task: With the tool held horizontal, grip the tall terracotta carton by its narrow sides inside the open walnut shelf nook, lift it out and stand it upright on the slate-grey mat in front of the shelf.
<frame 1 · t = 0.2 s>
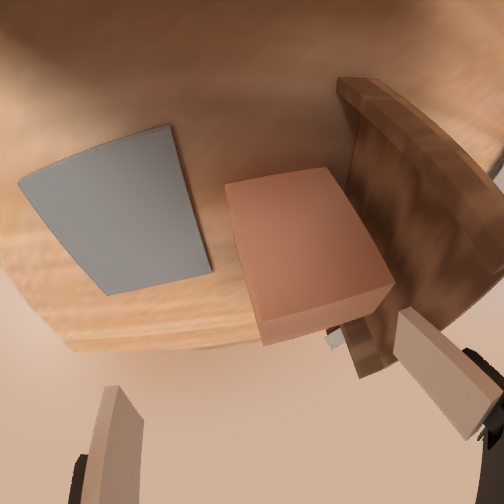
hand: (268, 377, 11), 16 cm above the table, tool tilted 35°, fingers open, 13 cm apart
shelf nook: (379, 251, 21), on the table
food container: (347, 275, 43), on the table
carton: (277, 195, 25), on the table
slate mat: (125, 230, 24), on the table
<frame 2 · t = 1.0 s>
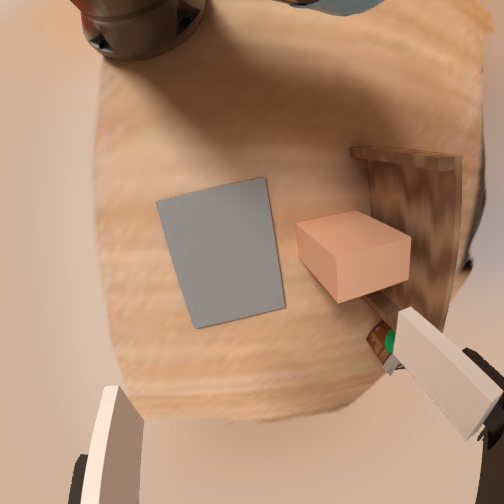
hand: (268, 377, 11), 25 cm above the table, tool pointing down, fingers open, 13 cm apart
shelf nook: (400, 243, 31), on the table
food container: (390, 323, 46), on the table
carton: (328, 233, 37), on the table
slate mat: (225, 258, 36), on the table
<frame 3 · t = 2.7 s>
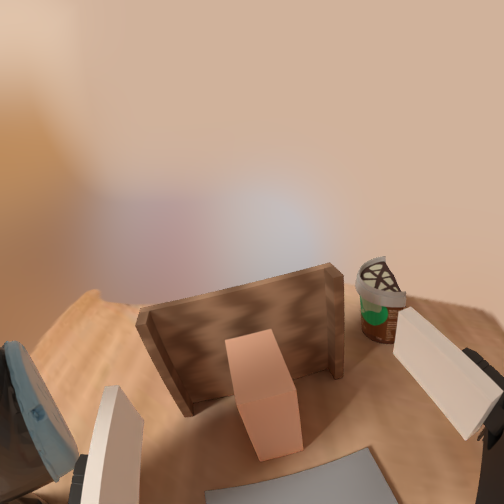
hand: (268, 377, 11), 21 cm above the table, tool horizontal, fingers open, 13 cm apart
shelf nook: (251, 350, 32), on the table
food container: (372, 328, 42), on the table
carton: (272, 427, 29), on the table
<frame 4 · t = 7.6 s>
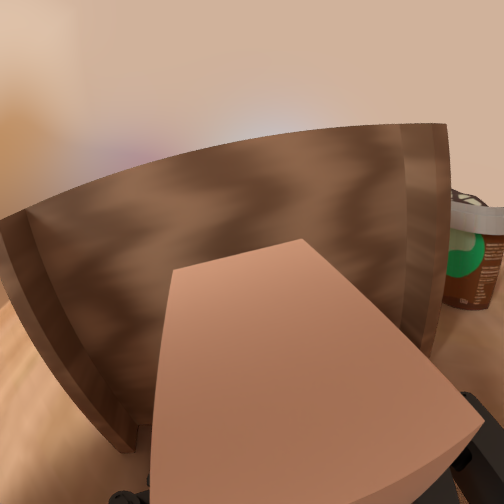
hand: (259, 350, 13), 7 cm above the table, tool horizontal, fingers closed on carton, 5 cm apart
shelf nook: (250, 316, 14), on the table
food container: (444, 290, 24), on the table
carton: (299, 488, 11), on the table, touching gripper
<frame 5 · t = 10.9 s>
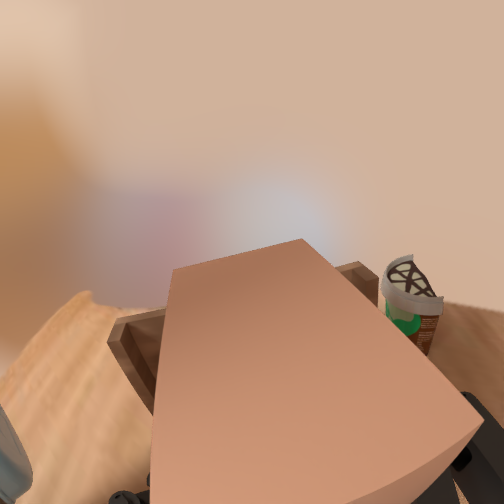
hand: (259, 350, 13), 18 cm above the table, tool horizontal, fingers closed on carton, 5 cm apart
shelf nook: (258, 373, 25), on the table
food container: (398, 338, 35), on the table
carton: (299, 488, 11), point 12 cm above the table, touching gripper
when the fingers open (8 cm above the table, at t = 14.6 s): carton drops 1 cm, resting on slate mat.
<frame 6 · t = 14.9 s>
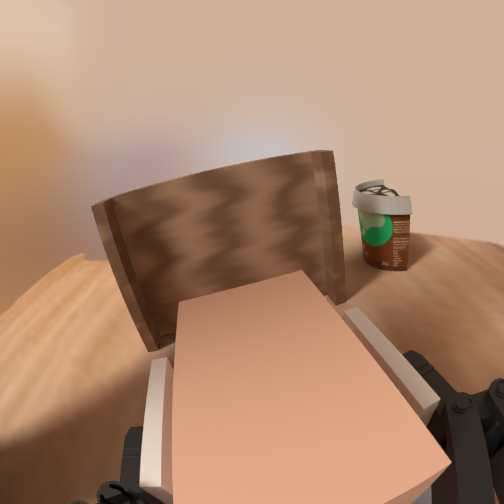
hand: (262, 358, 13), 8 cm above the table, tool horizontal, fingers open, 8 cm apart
shelf nook: (229, 253, 27), on the table
food container: (376, 259, 38), on the table
carton: (299, 495, 11), point 1 cm above the table, touching slate mat
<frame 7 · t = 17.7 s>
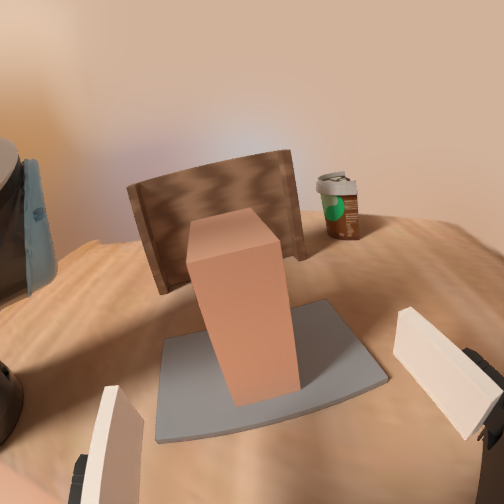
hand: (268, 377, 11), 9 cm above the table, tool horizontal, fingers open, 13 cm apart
shelf nook: (219, 221, 39), on the table
food container: (338, 233, 50), on the table
carton: (257, 361, 23), point 1 cm above the table, touching slate mat
slate mat: (258, 365, 23), on the table
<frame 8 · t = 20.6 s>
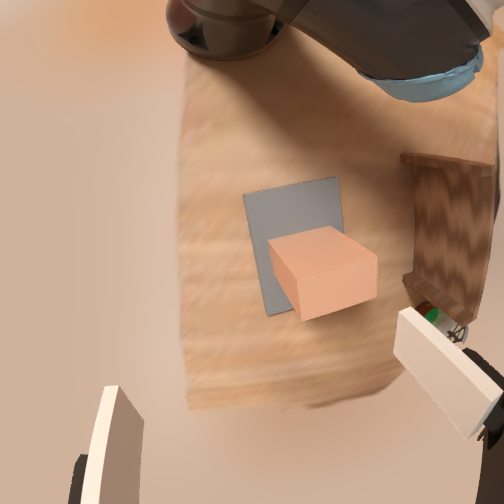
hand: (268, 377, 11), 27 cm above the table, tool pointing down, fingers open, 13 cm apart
shelf nook: (444, 234, 34), on the table
food container: (425, 308, 49), on the table
carton: (301, 249, 39), point 1 cm above the table, touching slate mat
slate mat: (300, 248, 39), on the table
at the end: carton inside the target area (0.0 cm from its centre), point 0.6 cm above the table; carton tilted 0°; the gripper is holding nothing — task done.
